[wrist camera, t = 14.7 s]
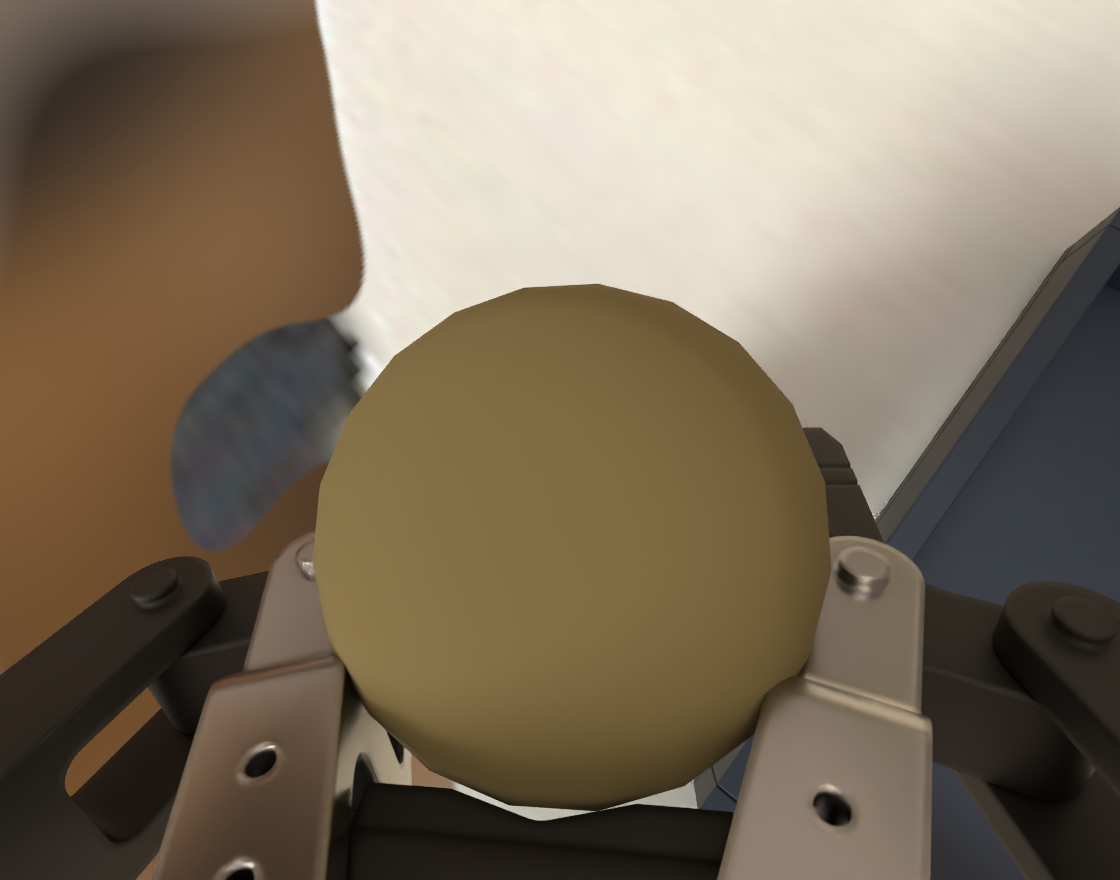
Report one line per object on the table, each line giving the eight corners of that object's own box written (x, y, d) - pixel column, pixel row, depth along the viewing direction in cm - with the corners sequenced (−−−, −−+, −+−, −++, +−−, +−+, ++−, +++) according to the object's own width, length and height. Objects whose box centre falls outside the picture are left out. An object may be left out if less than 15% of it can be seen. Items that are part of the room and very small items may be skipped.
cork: (788, 506, 16) (1070, 338, 5) (677, 742, 15) (729, 1153, 4) (567, 402, 17) (414, 95, 6) (456, 612, 16) (65, 670, 5)
